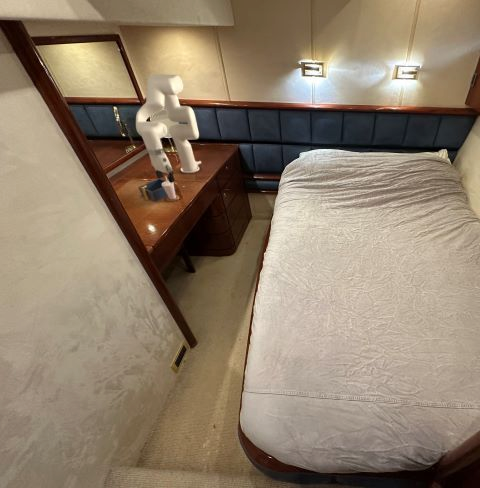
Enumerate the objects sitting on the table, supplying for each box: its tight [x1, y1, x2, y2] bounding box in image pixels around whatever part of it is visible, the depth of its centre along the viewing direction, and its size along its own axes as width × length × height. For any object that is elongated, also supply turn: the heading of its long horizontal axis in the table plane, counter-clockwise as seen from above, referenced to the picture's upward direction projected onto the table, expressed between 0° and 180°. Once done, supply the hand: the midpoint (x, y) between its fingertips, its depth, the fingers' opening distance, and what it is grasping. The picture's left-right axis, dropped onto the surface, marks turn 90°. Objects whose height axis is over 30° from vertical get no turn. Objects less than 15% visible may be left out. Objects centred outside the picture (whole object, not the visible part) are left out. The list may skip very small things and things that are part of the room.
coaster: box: [165, 194, 180, 203], centre depth 161 cm, size 8×8×1 cm
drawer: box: [137, 178, 177, 202], centre depth 161 cm, size 16×12×8 cm
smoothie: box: [162, 175, 177, 199], centre depth 156 cm, size 6×6×14 cm
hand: (166, 179), depth 154 cm, fingers open, 9 cm apart
